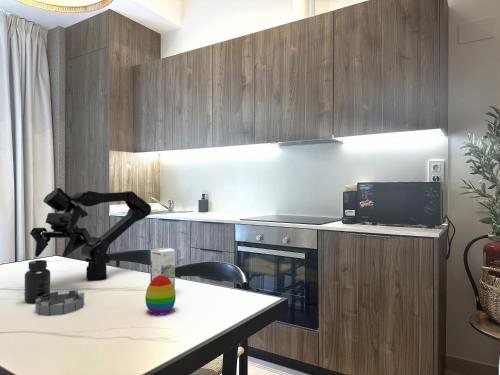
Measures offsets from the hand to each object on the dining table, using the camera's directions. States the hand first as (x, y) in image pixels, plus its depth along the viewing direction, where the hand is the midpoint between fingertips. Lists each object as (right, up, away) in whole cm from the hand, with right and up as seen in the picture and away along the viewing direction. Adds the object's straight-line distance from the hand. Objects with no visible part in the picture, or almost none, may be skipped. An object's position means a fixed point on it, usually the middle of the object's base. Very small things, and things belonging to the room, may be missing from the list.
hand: (49, 256), depth 113 cm
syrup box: (+36, -13, +1) cm, 39 cm away
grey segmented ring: (+11, -12, -13) cm, 21 cm away
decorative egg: (+40, -12, -16) cm, 45 cm away
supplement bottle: (0, -13, -6) cm, 14 cm away
